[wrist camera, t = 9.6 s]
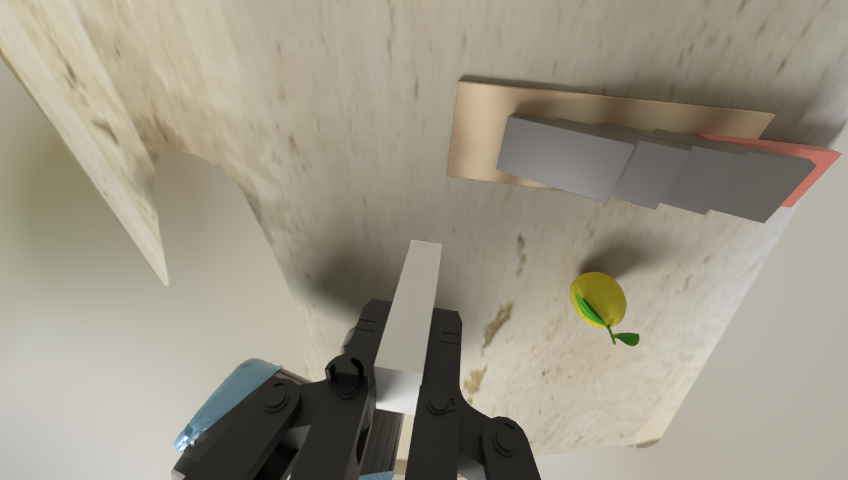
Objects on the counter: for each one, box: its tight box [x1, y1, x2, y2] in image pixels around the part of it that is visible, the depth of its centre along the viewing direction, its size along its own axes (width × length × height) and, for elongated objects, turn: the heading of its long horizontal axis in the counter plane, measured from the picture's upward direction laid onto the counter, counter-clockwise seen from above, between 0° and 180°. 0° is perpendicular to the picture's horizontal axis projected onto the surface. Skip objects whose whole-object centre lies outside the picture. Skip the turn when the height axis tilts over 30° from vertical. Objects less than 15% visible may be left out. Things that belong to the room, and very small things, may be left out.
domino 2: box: [554, 118, 692, 210], centre depth 26 cm, size 2×5×10 cm
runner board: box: [447, 81, 775, 204], centre depth 29 cm, size 26×9×1 cm, turn 86°
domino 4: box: [654, 129, 817, 223], centre depth 25 cm, size 2×5×10 cm
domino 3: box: [601, 123, 748, 215], centre depth 26 cm, size 2×5×10 cm
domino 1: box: [496, 113, 637, 203], centre depth 26 cm, size 2×5×10 cm
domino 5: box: [696, 133, 841, 207], centre depth 27 cm, size 2×5×10 cm
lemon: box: [570, 272, 639, 346], centre depth 34 cm, size 7×6×10 cm
